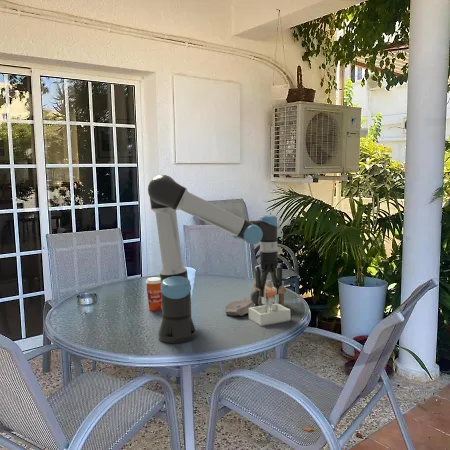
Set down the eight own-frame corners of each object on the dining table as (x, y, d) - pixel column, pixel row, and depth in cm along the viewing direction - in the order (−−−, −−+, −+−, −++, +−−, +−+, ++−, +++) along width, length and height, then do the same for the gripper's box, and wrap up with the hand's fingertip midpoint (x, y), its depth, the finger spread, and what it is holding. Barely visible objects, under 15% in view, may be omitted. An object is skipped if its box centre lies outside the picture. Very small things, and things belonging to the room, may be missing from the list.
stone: (236, 319, 197) (236, 306, 197) (223, 314, 205) (223, 302, 204) (258, 314, 206) (258, 301, 205) (244, 309, 213) (244, 297, 212)
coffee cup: (147, 312, 210) (145, 281, 208) (146, 307, 218) (145, 277, 216) (164, 310, 211) (163, 280, 210) (163, 306, 219) (162, 276, 218)
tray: (260, 326, 188) (260, 314, 187) (248, 318, 198) (248, 307, 197) (290, 320, 194) (290, 309, 193) (277, 313, 204) (277, 303, 203)
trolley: (263, 312, 206) (263, 284, 204) (248, 304, 219) (248, 278, 218) (285, 309, 210) (285, 281, 209) (269, 301, 224) (269, 275, 223)
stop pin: (267, 316, 193) (267, 292, 192) (262, 313, 197) (262, 290, 196) (276, 315, 195) (275, 291, 193) (271, 312, 199) (270, 289, 197)
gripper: (254, 254, 185) (255, 308, 188) (290, 250, 193) (290, 302, 195) (246, 251, 192) (247, 303, 195) (281, 247, 199) (281, 298, 202)
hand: (269, 302), depth 195 cm, fingers open, 5 cm apart
